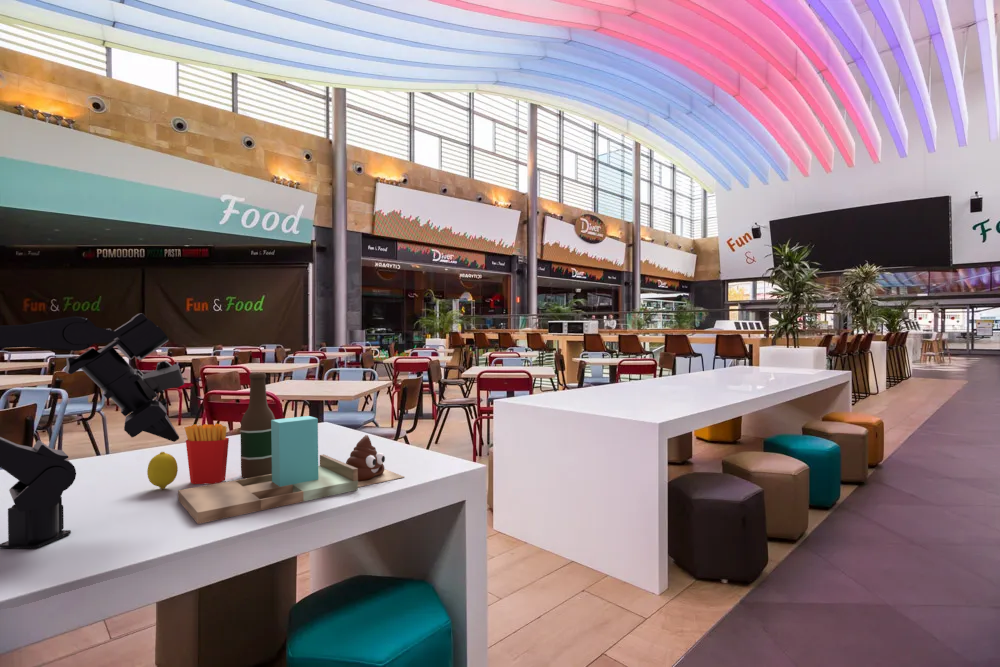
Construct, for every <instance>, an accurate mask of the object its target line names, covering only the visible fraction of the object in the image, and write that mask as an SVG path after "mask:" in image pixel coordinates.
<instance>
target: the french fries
mask: <svg viewBox="0 0 1000 667" xmlns="http://www.w3.org/2000/svg"><path fill="white" fill-rule="evenodd" d="M227 428H228V427H227V426H225V425H222V424H220V423H214V424H206V423H204V424H203V425H202V424H200V425H198V424H195V423H194V424H191V425H188V426H184V431H185V434H186V438H187V439H186V440H185V448H186V453H187V462H188V471H189V480H190V484H192V485H211V484H217V483H223V482H225V481H226V475H227V464H228V463H227V462H228V452H229V441H230V440H229V439H230V438H229V437H227Z"/></svg>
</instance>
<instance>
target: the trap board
mask: <svg viewBox="0 0 1000 667" xmlns="http://www.w3.org/2000/svg"><path fill="white" fill-rule="evenodd" d="M358 490H359V487H358V468H355V467H353V466H350V465H348V464H346V462H343V461H341V460H338V459H336V458H334V457H331V456H328V455H326V454H319V465H318V480H312V481H307V482H302V483H297V484H291V485H286V486H281V487H280V486H278V485H277V484H275V483H273V482H272V474H269V475H263V476H257V477H251V478H243V479H242V478H241V479H235V480H230V481H222V482H220V483H214V484H204V485H200V486H195V487H188V488H184V489H183V488H182V489H179V490H177V492H178V493H177V496H178V502H179V503H180V505H182V506H183V508H184V509H185V510H186V511H187V513H188V514H189V515H190V516H191V517H192V519H193V520H194V522H195V523H197V524H198V525H199V524H200V525H201V524H204V523H208V522H209V523H210V522H213V521H218V520H222V519H223V520H224V519H229V518H233V517H237V516H241V515H247V514H250V513H255V512H261V511H265V510H268V509H269V510H270V509H275V508H280V507H283V506H287V505H294V504H298V503H302V502H307V501H308V502H309V501H311V500H317V499H321V498H326V497H332V496H336V495H340V494H344V493H350V492H354V491H358Z"/></svg>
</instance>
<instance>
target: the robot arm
mask: <svg viewBox="0 0 1000 667" xmlns="http://www.w3.org/2000/svg"><path fill="white" fill-rule="evenodd" d="M168 342H169V338H168V336H167V335H166V333H165V331H164V330H163V329H162V328H161V327H160V326H159V325H156V324H155V323H154V321H152V320H150V319H149V318H147V316H146V315H145V314H144V313H137V314H135V315H134V316H133V317H131V319H130V320H129V321H127V322H125V323H123V324H122V325H121V326H119V327H117V328H116V329H114V330H113V329H111V328H103V327H98V326H96V325H95V324H94V323H93V322H92V321H91V320H89V319H88V318H86V317H83V316H77V315H75V316H68V317H67V316H66V317H61V318H55V319H48V320H44V321H37V322H31V323H30V322H29V323H26V324H11V325H9V324H7V325H5V324H4V325H3V324H2V325H0V349H8V348H9V349H10V348H30V349H31V348H32V349H34V348H35V349H44V350H45V349H46V350H55V351H57V350H59V351H71V352H72V351H73V352H79V351H84V350H86V349H87V351H85V352H83V353H81V354H80V355H78V356H77V357H74V358H73V357H69V356H68V357H66V359H65V360H66V366H65V367H66V368H65V370H64V372H65V373H66V374H69V375H73V374H74V373H76V372H78V371H79V370H82V372H84V374H86V375H87V377H88V378H89V379H91V381H93V382H94V383H95V384H96V385H97V387H98V388H100V389H101V391H102V392H103V394H102V395H103V396H104V397H105V398H106V399H107V400H109V399H111V400H112V401H113V402H114V403H115V404H116V405H117V407H119V409H120V413H121V414H122V415H123V416H124V417H125V420H124V426H123V427H124V429H123V431H124V432H126V434H127V435H129V436H130V438H134V437H135V438H136V436H138V435H140V434H141V433H143V432H144V433H148V434H151V435H154V436H157V437H159V438H162V439H165V440H167V441H171V442H174V443H175V442H177V441H179V439H180V435H179V434H178V432H177V430H176V429H175V427H174V425H173V424H172V421H171V420H170V418H169V416H168V415H167V413H168V412H167V411H168V404H167V398H166V397H165V398H163V399H161V400H160V401H159V400H158V399H157V398H156V397H158V394H160V395H163V394H164V393H165V390H169V389H173V388H180V387H182V386H184V385H185V382H184V381H185V380H184V378H183V374H182V372H181V369H180V366H179V364H176V363H175V364H173V365H172V364H171V363H170V362H168V361H167V360H161V361H158V362H157V364H156V369H155V370H154V369H153V370H151V372H150V371H149V372H147V373H143V372H142V371H141V370H140V369H137V368H134V367H133V366H131V365H130V364H129V362H127V360H125V358H124V357H126V359H128V360H132V359H134V358H135V359H137V360H139V361H142V360H143V359H145V358H146V357H147V356H149V355H151V354H152V353H153V352H155V351H156V350H158V349H159V348H161V347H162V346H163V345H164V344H166V343H168ZM102 343H108V344H107V345H105V346H104V347H102V348H100V349H95V348H94V347H91V346H93V345H94V344H102ZM90 347H91V348H90ZM115 347H116V349H118V350H119V352H121V353H122V354H123V356H124V357H123V356H122V355H121V354H120V353H119V352H118V351H117V350H116V349H115ZM88 348H90V349H88ZM155 398H156V399H155ZM0 469H2V470H4V472H6V473H7V474H9V475H11V476H12V477H13V478H15V479H16V480H18V481H17V482H16V483H15V484H13V485H12V486H11V487H10V488H9V490H8V491H9V493H10V496H11V498H12V501H13V503H14V504H13V505H12V506H11V507H9V508H7V536H8V537H7V538H8V539H7V540H6V541H4V542H1V543H0V548H1V549H2V548H4V549H5V548H6V549H38V548H40V547H43V546H45V545H47V544H50V543H53V542H55V541H57V540H59V539H61V538H63V537H66V536H68V535H70V534H72V531H71V530H70V529H69V530H68V529H64V521H65V520H64V505H63V502H62V500H63V498H62V495H63V493H64V491H66V490H68V489H69V488H70V487H71V486H72V485H73V484H74V482H75V480H76V476H77V470H76V466H74V464H73V463H72V462H71V461H70V460H69V455H68V454H67V453H65V452H64V451H63V449H56V448H55V449H54V448H51V447H50V446H48V445H47V444H45V443H44V442H42V441H41V440H37V441H36V442H35V444H34V445H33V447H32V446H28V445H22V444H18V443H15V442H13V441H10V440H9V439H6V438H3V437H2V436H0Z"/></svg>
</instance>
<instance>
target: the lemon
mask: <svg viewBox="0 0 1000 667" xmlns="http://www.w3.org/2000/svg"><path fill="white" fill-rule="evenodd" d="M147 465H148V466H147V471H146V472H147V478H148V481H149V483H151V484H152V485H153V486H155V487H159V489H162V490H163V489H165V488H166V487H168V486H169V485H170V484H172V483H173V482H174V481H175V480H176V478H177V475H178V470H179V469H178V468H179V467H178V463H177V461H176V458H175V457H174V456H173V455H171V454H170V453H167V452H165V451H161V452H159V453H158V454H156V455H154V456H153V457H151V459H150V460H149V463H148V464H147Z"/></svg>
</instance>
